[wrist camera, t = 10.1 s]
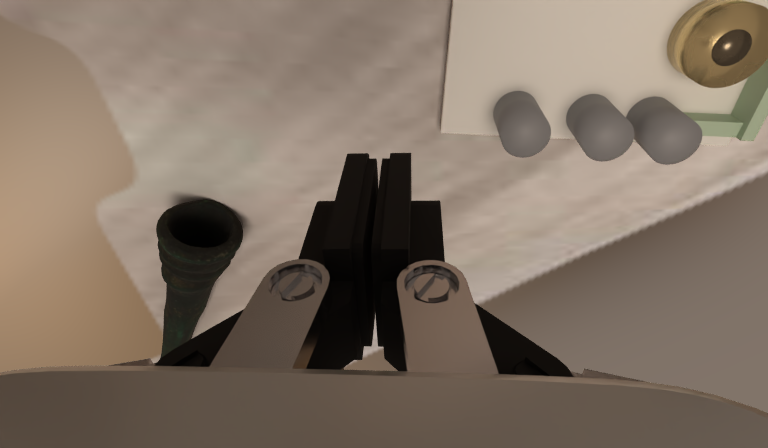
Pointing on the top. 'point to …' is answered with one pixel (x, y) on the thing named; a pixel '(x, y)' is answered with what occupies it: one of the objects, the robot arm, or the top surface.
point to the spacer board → (587, 80)
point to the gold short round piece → (719, 42)
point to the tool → (193, 262)
